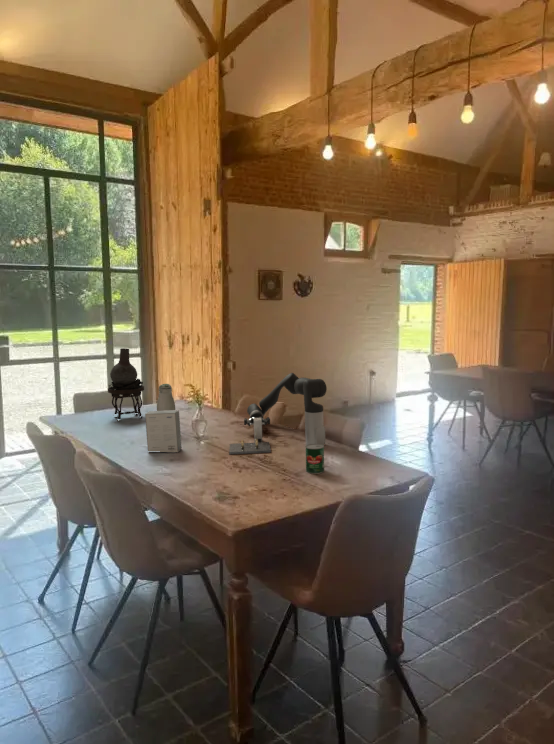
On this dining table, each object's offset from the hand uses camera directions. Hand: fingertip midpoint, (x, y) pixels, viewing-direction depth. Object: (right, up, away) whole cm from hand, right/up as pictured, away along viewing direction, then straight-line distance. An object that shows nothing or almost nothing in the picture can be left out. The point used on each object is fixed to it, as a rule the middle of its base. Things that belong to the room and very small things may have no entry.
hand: (257, 424), depth 308 cm
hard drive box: (-45, -12, -22) cm, 52 cm away
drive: (+1, -8, -10) cm, 13 cm away
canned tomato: (+27, -15, -63) cm, 70 cm away
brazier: (-86, -2, +63) cm, 106 cm away
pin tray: (-3, -10, -24) cm, 26 cm away
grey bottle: (-52, -7, +18) cm, 55 cm away
